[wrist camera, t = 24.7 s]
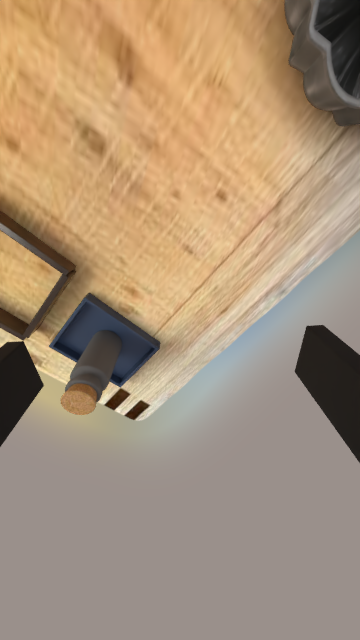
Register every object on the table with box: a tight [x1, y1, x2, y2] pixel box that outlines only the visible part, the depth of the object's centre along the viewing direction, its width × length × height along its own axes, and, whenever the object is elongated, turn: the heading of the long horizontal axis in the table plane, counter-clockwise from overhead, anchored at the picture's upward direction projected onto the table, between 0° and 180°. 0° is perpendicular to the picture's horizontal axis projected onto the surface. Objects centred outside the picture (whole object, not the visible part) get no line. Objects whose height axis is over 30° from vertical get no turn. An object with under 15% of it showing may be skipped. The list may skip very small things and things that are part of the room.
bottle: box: [61, 330, 122, 415], centre depth 37 cm, size 6×6×15 cm
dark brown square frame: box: [0, 211, 76, 341], centre depth 36 cm, size 17×17×3 cm
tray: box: [49, 293, 160, 387], centre depth 43 cm, size 16×13×2 cm
